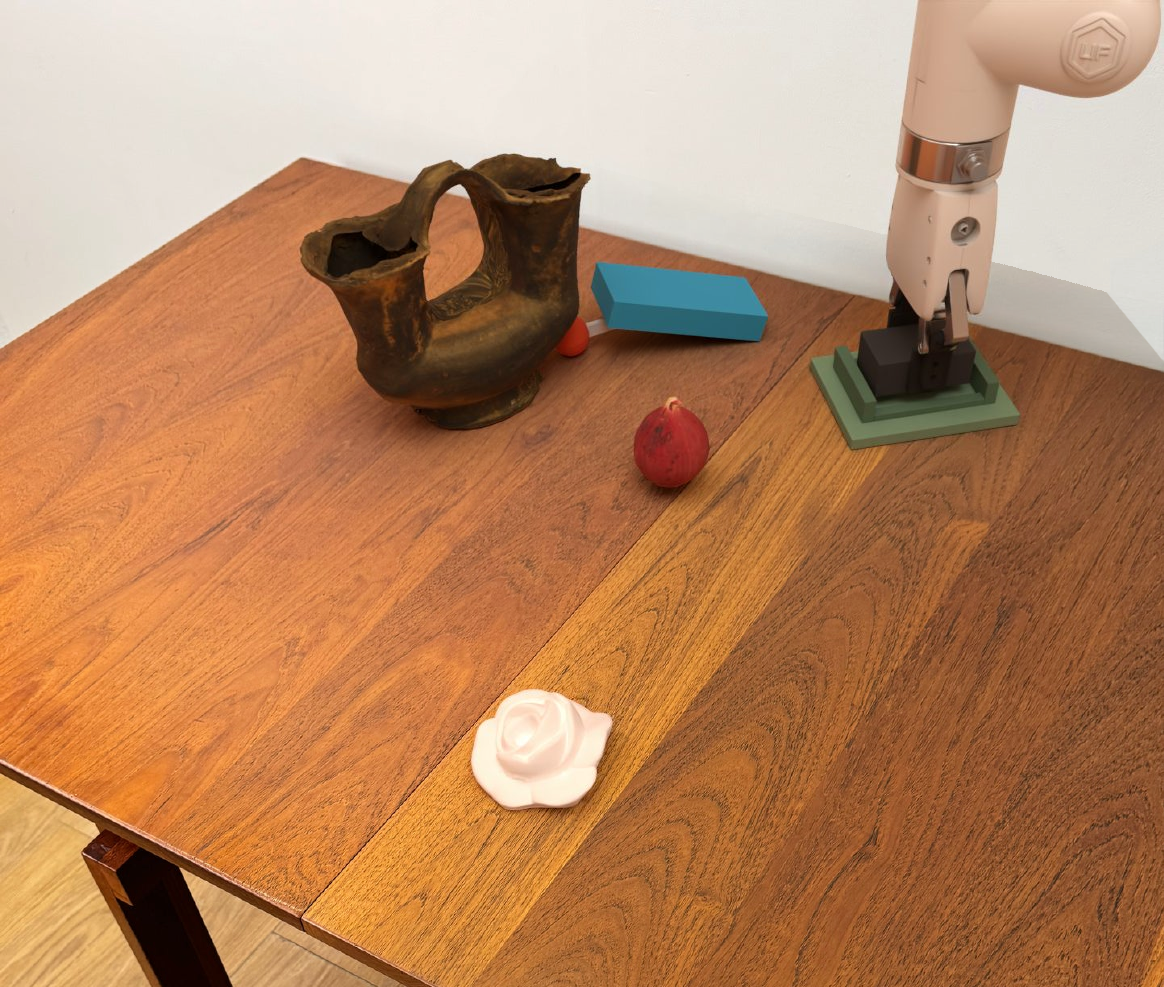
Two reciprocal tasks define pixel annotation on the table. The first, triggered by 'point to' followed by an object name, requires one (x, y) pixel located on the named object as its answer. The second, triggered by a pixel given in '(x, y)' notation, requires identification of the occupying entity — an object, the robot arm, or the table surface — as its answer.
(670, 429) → the onion
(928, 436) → the base pad
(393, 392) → the pottery vessel
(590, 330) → the lever
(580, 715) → the rose
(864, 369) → the black block
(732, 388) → the table surface
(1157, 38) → the robot arm
